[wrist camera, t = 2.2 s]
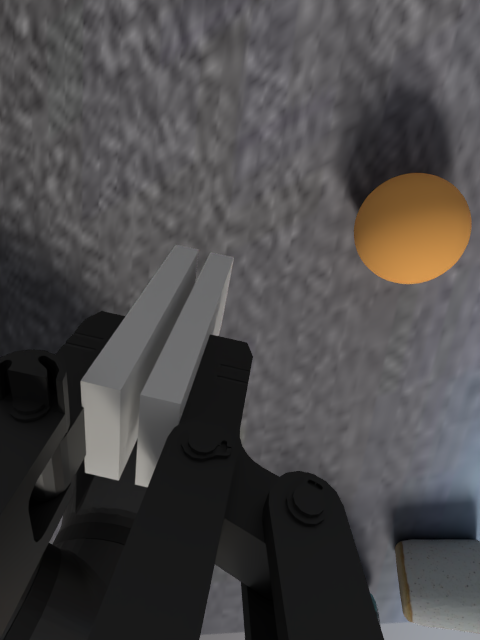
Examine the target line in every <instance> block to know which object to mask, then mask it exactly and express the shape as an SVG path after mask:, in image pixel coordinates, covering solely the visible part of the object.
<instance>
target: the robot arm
mask: <svg viewBox="0 0 480 640" xmlns="http://www.w3.org/2000/svg"><path fill="white" fill-rule="evenodd" d="M198 255H199V250H198V249H194V248H190V247H185V246H181V245H175V246H174V248H173V249H172V251H171V252H170V254H169V255H168V256H167V258H166V259H165V261H164V262H163V264H162V265H161V266H160V268H159V269H158V271H157V272H156V274H155V275H154V276H153V278H152V279H151V281H150V282H149V284H148V285H147V286H146V288H145V289H144V291H143V292H142V294H141V295H140V297H139V298H138V299H137V301H136V302H135V304H134V305H133V307H132V308H131V309H130V311H129V312H128V314H127V315H126V316H121V315H117V314H112V313H108V312H104V311H101V312H99V313H97V314H95V315H93V316H91V317H89V318H87V319H85V320H84V321H83V323H82V324H81V325H80V326H79V327H78V329H77V330H76V331H75V333H74V335H73V334H72V336H71V337H70V338H69V339H68V340H67V342H66V345H63V346H62V348H61V349H60V350H59V351H58V352H57V353H56V355H55V354H52V353H49V352H47V351H41V350H24V351H17V352H13V353H10V354H8V355H5V356H2V357H0V640H199V638H200V633H201V628H202V624H203V619H204V614H205V609H206V604H207V599H208V594H209V589H210V584H211V579H212V574H213V569H214V564H215V565H217V566H218V567H220V568H221V569H223V570H224V571H226V572H227V573H229V574H230V575H232V576H233V577H235V578H236V579H238V580H239V581H241V588H242V602H243V615H244V628H245V640H384V638H383V634H382V631H381V628H380V624H379V621H378V618H377V615H376V611H375V608H374V605H373V601H372V598H371V595H370V592H369V588H368V585H367V582H366V578H365V575H364V572H363V569H362V565H361V562H360V559H359V555H358V552H357V549H356V546H355V542H354V539H353V536H352V532H351V529H350V526H349V523H348V519H347V516H346V513H345V509H344V506H343V504H342V502H341V500H340V498H339V496H338V494H337V492H336V491H335V490H334V489H333V488H332V487H331V486H330V485H329V484H328V483H327V482H326V481H324V480H323V479H321V478H319V477H317V476H316V475H314V474H311V473H306V472H301V471H296V472H289V473H285V474H284V475H282V476H280V477H279V476H277V475H275V474H273V473H271V472H270V471H268V470H266V469H264V468H263V467H261V466H260V465H258V464H257V463H255V462H254V461H253V460H252V459H251V458H250V457H249V456H248V455H247V453H246V452H245V450H244V448H243V447H242V444H241V440H240V425H241V420H242V414H243V408H244V403H245V397H246V392H247V386H248V381H249V375H250V369H251V364H252V358H253V356H252V353H251V351H250V348H249V346H248V344H247V343H246V342H242V341H237V340H233V339H228V338H224V337H220V336H218V335H219V332H220V329H221V325H222V319H223V314H224V308H225V303H226V298H227V292H228V287H229V282H230V276H231V271H232V265H233V260H234V257H230V256H225V255H221V254H216V253H212V252H210V254H209V256H208V258H207V260H206V262H205V264H204V266H203V268H202V271H201V273H200V275H199V277H198V279H197V281H196V283H195V278H196V270H197V263H198ZM62 516H63V520H62V525H61V528H60V530H59V532H58V534H57V536H56V538H55V540H54V542H53V544H50V543H49V541H50V539H51V537H52V535H53V533H54V531H55V529H56V527H57V526H58V524H59V522H60V520H61V518H62Z"/></svg>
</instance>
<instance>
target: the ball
mask: <svg viewBox="0 0 480 640" xmlns="http://www.w3.org/2000/svg"><path fill="white" fill-rule="evenodd" d="M470 233H471V214H470V210H469V207H468V204H467V202H466V200H465V198H464V197H463V195H462V194H461V193H460V191H459V190H458V189H457V188H456V187H455V186H454V185H453V184H451V183H450V182H448V181H446V180H445V179H443V178H440V177H438V176H435V175H432V174H426V173H409V174H403V175H399V176H397V177H394V178H391V179H389V180H387V181H385V182H384V183H382V184H381V185H379V186H378V187H377V188H376V189H374V190H373V191H372V192H371V193H370V194H369V195H368V197H367V198H366V199H365V201H364V202H363V204H362V205H361V207H360V209H359V212H358V214H357V217H356V221H355V226H354V240H355V245H356V249H357V251H358V254H359V256H360V258H361V259H362V261H363V262H364V264H365V265H366V266H367V267H368V268H369V269H370V270H371V271H372V272H373V273H375V274H376V275H378V276H379V277H381V278H383V279H386V280H388V281H391V282H395V283H401V284H415V283H421V282H425V281H429V280H431V279H434V278H436V277H438V276H440V275H441V274H443V273H444V272H446V271H447V270H448V269H450V268H451V267H452V266H453V265H454V264H455V263H456V262H457V261H458V259H459V258H460V257H461V255H462V254H463V252H464V250H465V248H466V246H467V244H468V241H469V238H470Z"/></svg>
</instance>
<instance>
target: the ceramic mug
mask: <svg viewBox="0 0 480 640" xmlns="http://www.w3.org/2000/svg"><path fill="white" fill-rule="evenodd" d="M395 553H396V563H397V572H398V580H399V588H400V596H401V602H402V609H403V614H404V616H405V617H406V619H407V620H408V621H410V622H413V623H415V624H418V625H421V626H426V627H433V628H443V629H451V630H457V631H464V632H471V633H478V634H480V542H479V541H478V540H475V539H441V540H416V539H411V540H406V541H400V542H399V543H398V544H397V545H396V546H395Z"/></svg>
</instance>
